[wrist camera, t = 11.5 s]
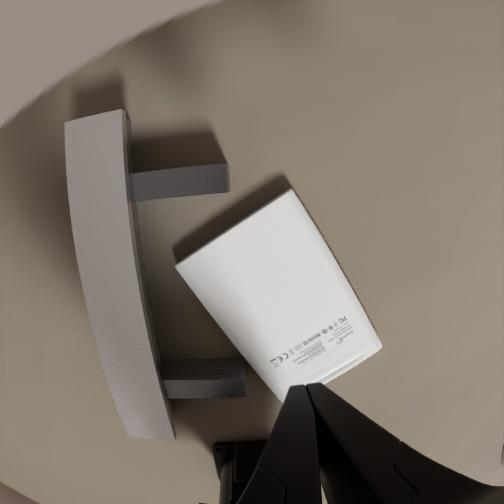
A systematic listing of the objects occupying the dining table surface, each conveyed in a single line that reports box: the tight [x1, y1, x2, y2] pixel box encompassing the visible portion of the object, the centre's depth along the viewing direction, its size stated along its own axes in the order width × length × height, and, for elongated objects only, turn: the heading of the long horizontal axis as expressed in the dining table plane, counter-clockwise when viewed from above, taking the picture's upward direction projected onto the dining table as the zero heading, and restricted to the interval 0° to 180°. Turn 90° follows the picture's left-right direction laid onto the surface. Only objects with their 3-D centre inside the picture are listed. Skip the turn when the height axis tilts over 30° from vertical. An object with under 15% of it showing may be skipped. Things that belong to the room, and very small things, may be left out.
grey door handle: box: [65, 109, 246, 440], centre depth 18 cm, size 21×9×3 cm, turn 4°
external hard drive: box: [175, 188, 382, 404], centre depth 20 cm, size 2×8×12 cm
